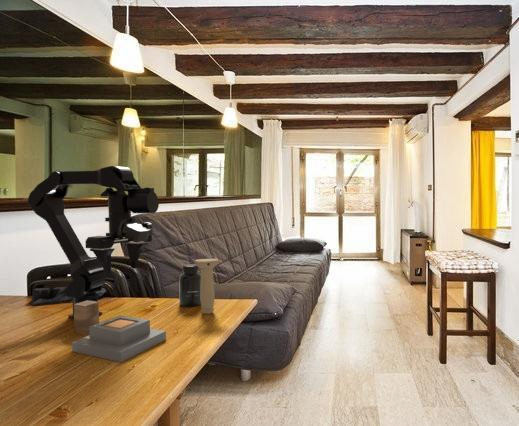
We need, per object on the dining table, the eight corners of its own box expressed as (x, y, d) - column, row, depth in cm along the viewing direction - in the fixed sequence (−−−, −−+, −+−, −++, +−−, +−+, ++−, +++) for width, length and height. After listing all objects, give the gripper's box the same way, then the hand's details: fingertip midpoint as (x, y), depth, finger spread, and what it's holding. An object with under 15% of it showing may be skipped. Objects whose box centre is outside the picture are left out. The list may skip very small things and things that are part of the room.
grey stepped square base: (72, 351, 88) (71, 328, 88) (120, 331, 101) (120, 311, 101) (121, 362, 82) (120, 337, 82) (166, 339, 95) (165, 318, 94)
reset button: (104, 337, 90) (104, 325, 90) (120, 331, 94) (120, 319, 94) (120, 340, 88) (120, 328, 88) (135, 334, 92) (135, 321, 92)
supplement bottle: (191, 308, 121) (191, 267, 120) (174, 305, 124) (173, 265, 124) (206, 302, 127) (206, 264, 126) (190, 300, 130) (189, 262, 130)
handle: (220, 314, 115) (219, 260, 114) (197, 316, 112) (196, 262, 112) (216, 309, 119) (215, 258, 118) (194, 311, 117) (193, 259, 116)
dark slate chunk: (103, 302, 131) (103, 287, 131) (27, 308, 126) (26, 292, 125) (107, 291, 146) (107, 278, 146) (39, 296, 140) (39, 282, 140)
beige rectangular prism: (86, 334, 99) (85, 306, 99) (74, 332, 101) (73, 304, 100) (99, 329, 103) (98, 302, 102) (87, 327, 104) (87, 300, 104)
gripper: (116, 215, 98) (118, 280, 99) (166, 212, 115) (167, 267, 115) (83, 215, 103) (85, 277, 104) (135, 211, 120) (137, 265, 120)
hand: (121, 271), depth 111 cm, fingers open, 9 cm apart
